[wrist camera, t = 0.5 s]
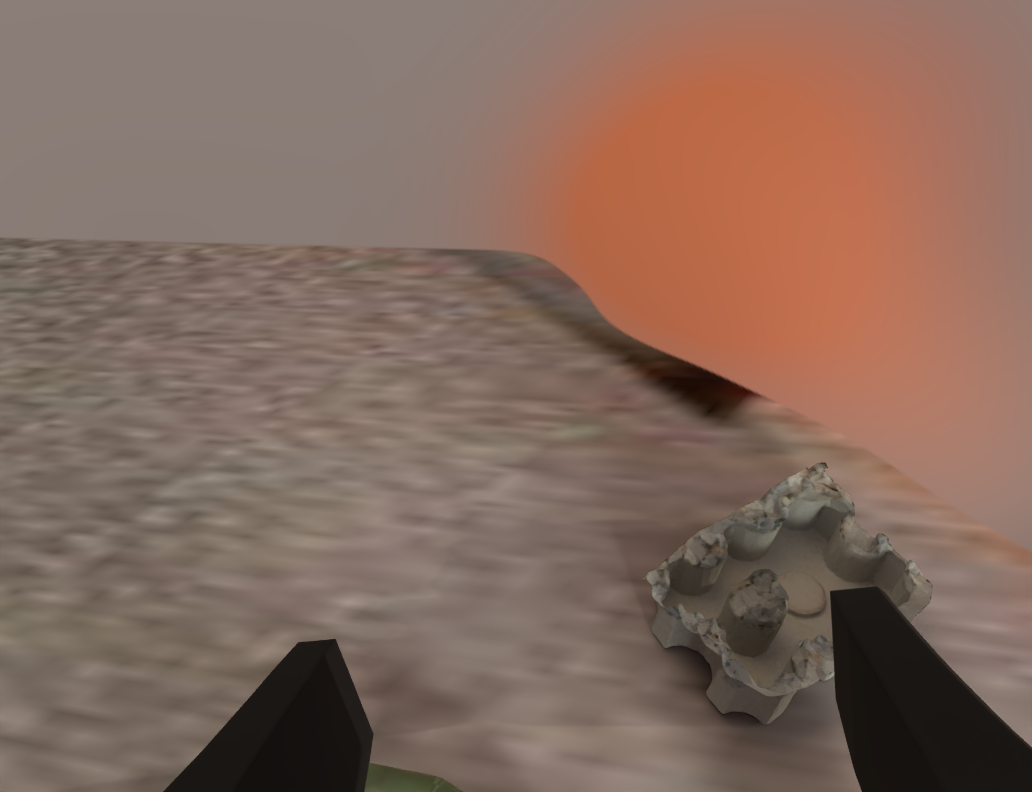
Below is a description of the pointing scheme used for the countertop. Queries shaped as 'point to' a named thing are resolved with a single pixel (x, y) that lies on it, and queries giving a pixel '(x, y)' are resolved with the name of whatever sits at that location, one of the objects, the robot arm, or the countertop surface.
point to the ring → (404, 781)
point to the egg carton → (775, 591)
